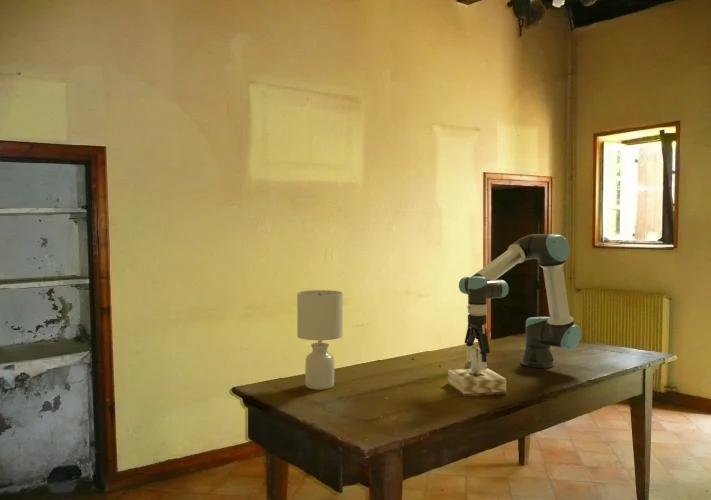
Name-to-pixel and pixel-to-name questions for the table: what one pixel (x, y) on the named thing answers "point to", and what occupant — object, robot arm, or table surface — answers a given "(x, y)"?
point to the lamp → (319, 333)
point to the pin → (475, 361)
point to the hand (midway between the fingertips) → (476, 365)
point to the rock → (468, 365)
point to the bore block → (476, 382)
